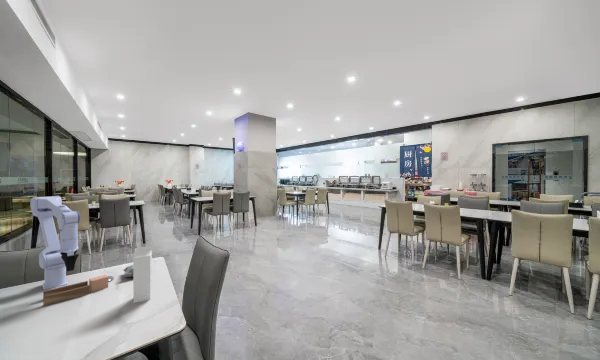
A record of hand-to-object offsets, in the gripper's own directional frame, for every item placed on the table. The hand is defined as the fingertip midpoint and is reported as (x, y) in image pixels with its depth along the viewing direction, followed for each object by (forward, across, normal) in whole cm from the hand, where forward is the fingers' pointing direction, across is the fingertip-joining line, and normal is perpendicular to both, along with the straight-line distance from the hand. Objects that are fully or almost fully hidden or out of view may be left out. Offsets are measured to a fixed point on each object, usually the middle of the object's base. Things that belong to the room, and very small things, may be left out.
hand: (69, 268), depth 108 cm
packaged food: (+12, -3, +23) cm, 26 cm away
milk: (+12, +31, +21) cm, 39 cm away
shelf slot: (+10, +5, -1) cm, 12 cm away
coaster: (+10, -4, +12) cm, 16 cm away
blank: (+11, +5, +9) cm, 15 cm away
